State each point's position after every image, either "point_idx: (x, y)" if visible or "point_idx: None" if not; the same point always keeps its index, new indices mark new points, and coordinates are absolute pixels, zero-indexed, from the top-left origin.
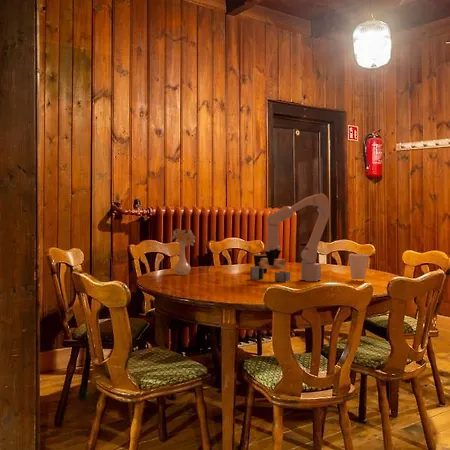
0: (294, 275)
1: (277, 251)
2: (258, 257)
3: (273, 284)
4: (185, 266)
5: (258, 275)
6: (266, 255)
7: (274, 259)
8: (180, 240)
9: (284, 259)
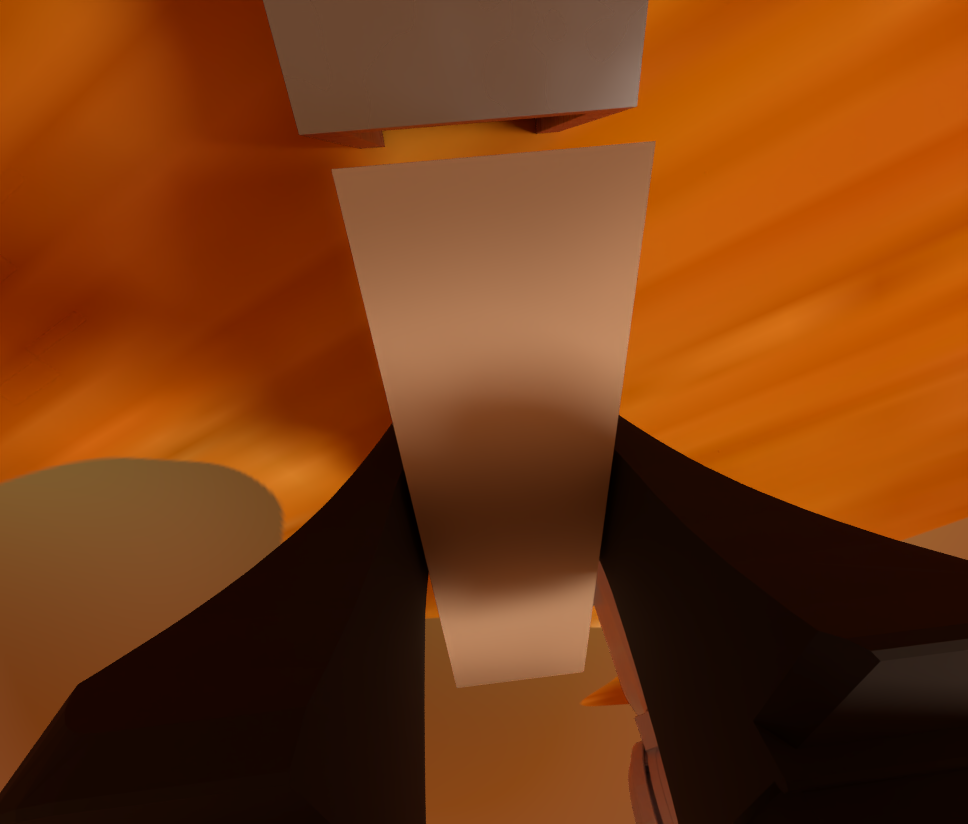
0: (964, 336)
1: (698, 808)
2: None
3: (254, 454)
4: None
5: (371, 142)
6: (236, 581)
7: (435, 588)
8: None
9: (544, 673)
